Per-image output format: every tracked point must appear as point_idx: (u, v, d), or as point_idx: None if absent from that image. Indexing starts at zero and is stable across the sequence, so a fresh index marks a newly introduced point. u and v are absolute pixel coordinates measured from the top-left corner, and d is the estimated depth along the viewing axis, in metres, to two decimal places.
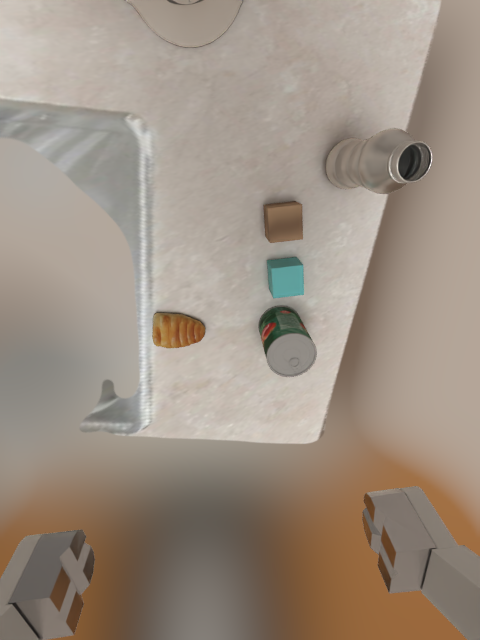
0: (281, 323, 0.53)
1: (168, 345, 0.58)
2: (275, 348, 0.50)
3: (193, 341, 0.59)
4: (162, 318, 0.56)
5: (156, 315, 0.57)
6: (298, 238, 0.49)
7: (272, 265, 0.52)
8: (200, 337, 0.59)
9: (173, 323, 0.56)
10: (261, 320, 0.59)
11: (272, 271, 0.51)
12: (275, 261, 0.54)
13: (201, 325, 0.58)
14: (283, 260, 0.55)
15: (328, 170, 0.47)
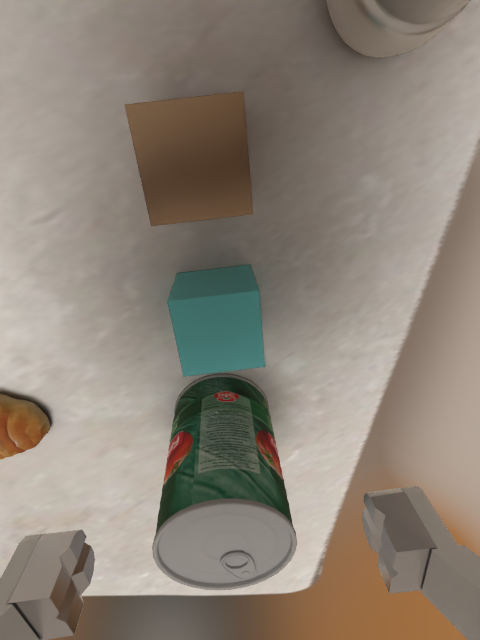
0: (205, 446, 0.20)
1: None
2: (175, 534, 0.17)
3: (16, 450, 0.25)
4: None
5: None
6: (239, 212, 0.16)
7: (177, 289, 0.19)
8: (32, 441, 0.25)
9: None
10: (176, 407, 0.26)
11: (171, 309, 0.18)
12: (193, 276, 0.21)
13: (28, 415, 0.25)
14: (214, 272, 0.21)
15: None
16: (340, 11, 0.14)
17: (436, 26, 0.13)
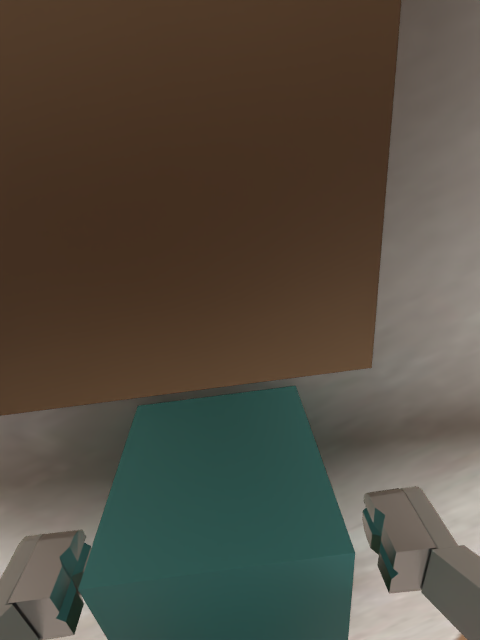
0: None
1: None
2: None
3: None
4: None
5: None
6: (321, 362, 0.04)
7: (123, 496, 0.07)
8: None
9: None
10: None
11: (95, 598, 0.06)
12: (172, 428, 0.09)
13: None
14: (219, 415, 0.09)
15: None
16: None
17: None
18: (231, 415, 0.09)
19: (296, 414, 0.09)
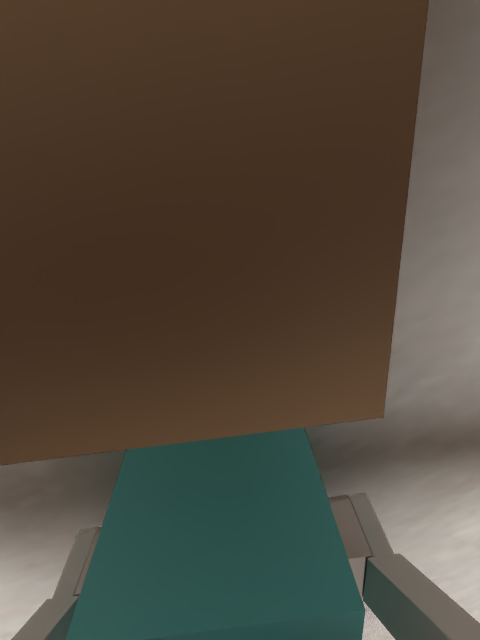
0: None
1: None
2: None
3: None
4: None
5: None
6: (327, 412, 0.04)
7: (114, 536, 0.07)
8: None
9: None
10: None
11: None
12: (168, 457, 0.09)
13: None
14: (218, 442, 0.09)
15: None
16: None
17: None
18: (230, 442, 0.09)
19: (299, 442, 0.09)
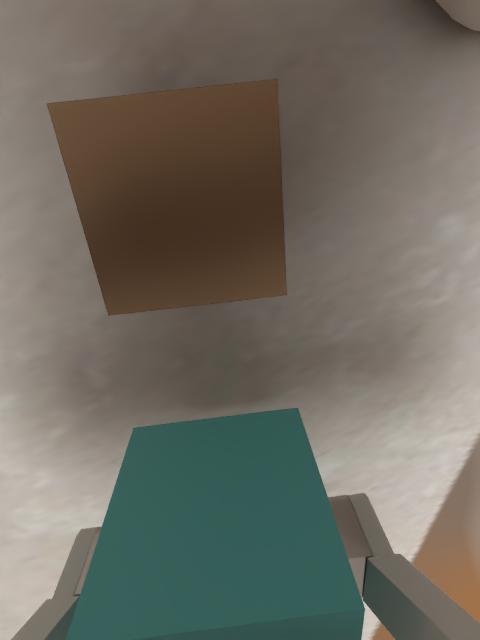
0: None
1: None
2: None
3: None
4: None
5: None
6: (263, 291, 0.09)
7: (115, 535, 0.07)
8: None
9: None
10: None
11: None
12: (168, 457, 0.09)
13: None
14: (218, 442, 0.09)
15: None
16: None
17: None
18: (231, 442, 0.09)
19: (299, 442, 0.09)
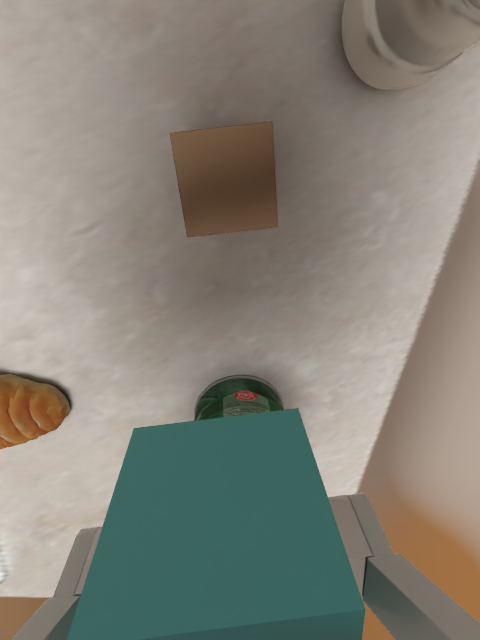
0: None
1: None
2: None
3: (38, 432, 0.26)
4: None
5: None
6: (266, 224, 0.18)
7: (115, 536, 0.07)
8: (53, 422, 0.26)
9: None
10: (197, 407, 0.27)
11: None
12: (168, 457, 0.09)
13: (49, 396, 0.25)
14: (219, 443, 0.09)
15: (350, 23, 0.16)
16: (356, 53, 0.17)
17: (440, 66, 0.16)
18: (231, 443, 0.09)
19: (299, 443, 0.09)
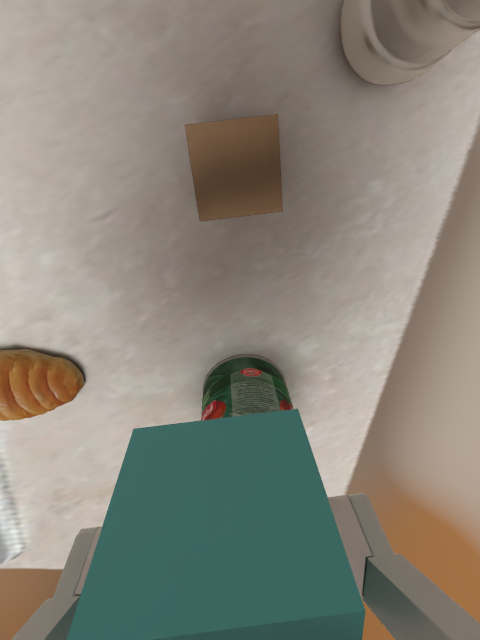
0: (237, 409, 0.23)
1: (1, 418, 0.27)
2: None
3: (56, 402, 0.28)
4: None
5: None
6: (271, 209, 0.20)
7: (115, 537, 0.07)
8: (69, 393, 0.28)
9: None
10: (205, 384, 0.29)
11: None
12: (168, 458, 0.09)
13: (65, 368, 0.27)
14: (218, 443, 0.09)
15: (348, 23, 0.18)
16: (353, 50, 0.18)
17: (430, 63, 0.17)
18: (231, 443, 0.09)
19: (299, 443, 0.09)
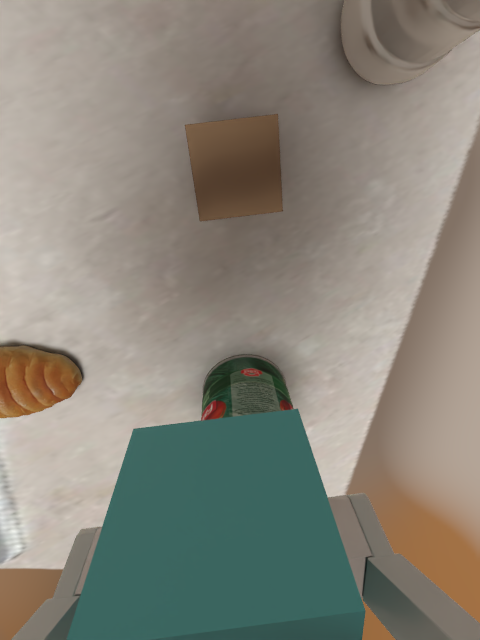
0: (237, 409, 0.23)
1: None
2: None
3: (53, 399, 0.28)
4: None
5: None
6: (271, 209, 0.19)
7: (114, 537, 0.07)
8: (67, 389, 0.28)
9: None
10: (205, 384, 0.29)
11: None
12: (168, 458, 0.09)
13: (62, 365, 0.27)
14: (218, 443, 0.09)
15: (349, 23, 0.18)
16: (354, 50, 0.18)
17: (430, 63, 0.17)
18: (231, 443, 0.09)
19: (299, 443, 0.09)
